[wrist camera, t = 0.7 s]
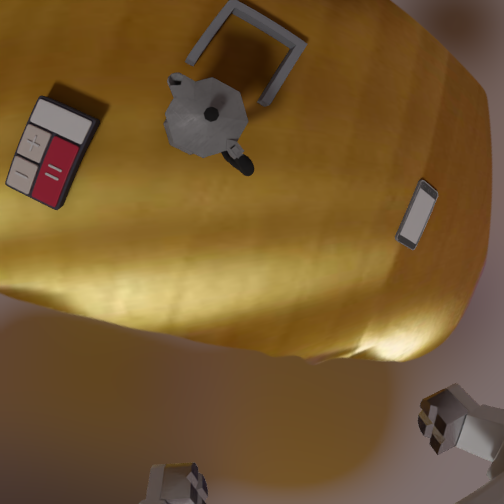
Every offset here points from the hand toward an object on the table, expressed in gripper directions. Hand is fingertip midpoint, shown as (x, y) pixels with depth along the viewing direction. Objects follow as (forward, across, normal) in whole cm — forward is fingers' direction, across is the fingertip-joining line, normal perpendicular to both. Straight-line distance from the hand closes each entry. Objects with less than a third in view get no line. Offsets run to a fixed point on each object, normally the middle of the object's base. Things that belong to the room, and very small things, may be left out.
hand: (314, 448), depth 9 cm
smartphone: (+54, -39, +8) cm, 68 cm away
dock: (+44, -7, -28) cm, 53 cm away
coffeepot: (+44, +3, -16) cm, 47 cm away
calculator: (+40, +26, -20) cm, 52 cm away
